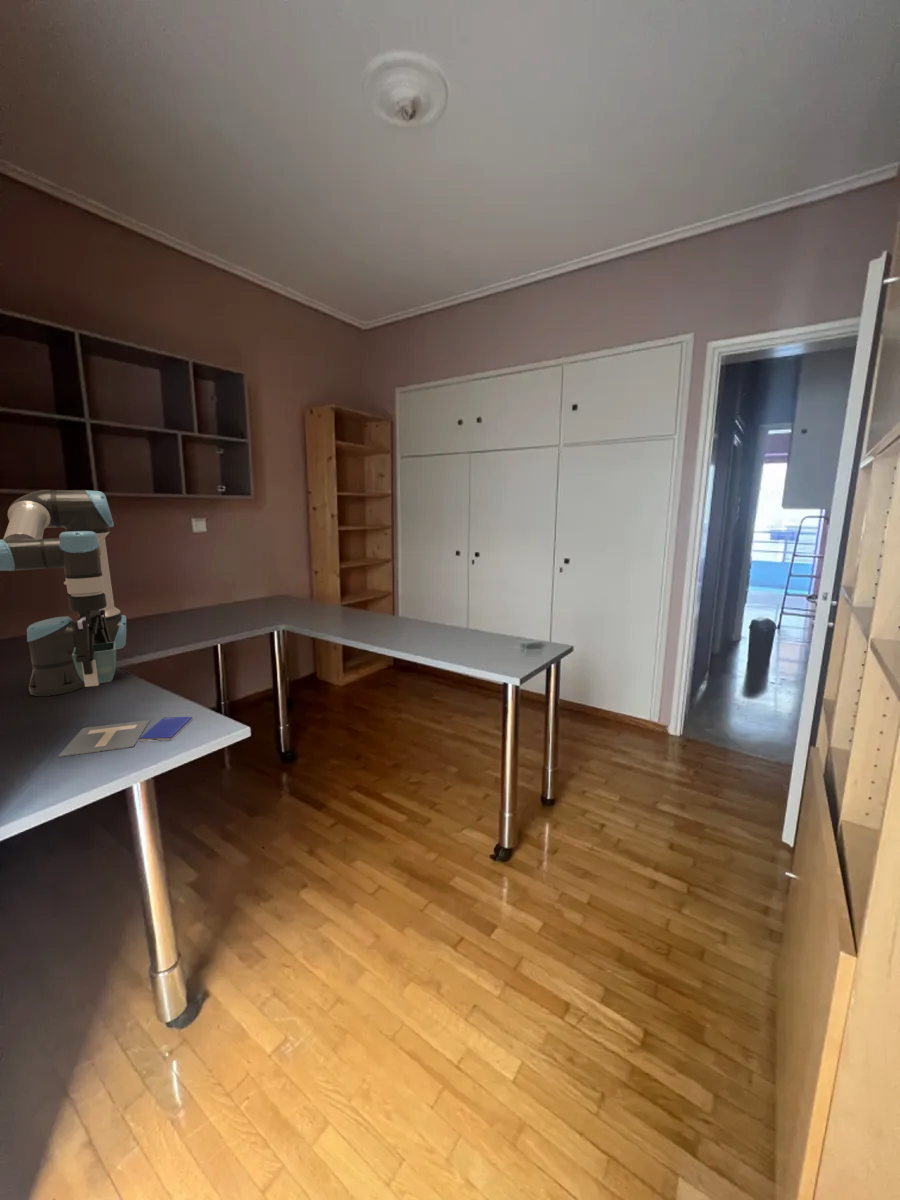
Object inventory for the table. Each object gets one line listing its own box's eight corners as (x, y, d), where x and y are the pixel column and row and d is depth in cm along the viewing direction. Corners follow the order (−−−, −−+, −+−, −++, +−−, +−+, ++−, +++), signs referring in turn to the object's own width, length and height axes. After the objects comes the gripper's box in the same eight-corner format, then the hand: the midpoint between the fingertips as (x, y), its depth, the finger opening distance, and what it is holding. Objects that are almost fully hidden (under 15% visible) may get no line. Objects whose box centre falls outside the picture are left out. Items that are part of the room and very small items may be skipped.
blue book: (162, 717, 138) (138, 738, 126) (192, 716, 139) (170, 737, 127) (163, 722, 139) (139, 743, 126) (193, 721, 139) (171, 742, 127)
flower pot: (76, 689, 120) (71, 654, 118) (79, 679, 127) (74, 646, 125) (119, 682, 125) (115, 649, 123) (119, 673, 132) (115, 641, 130)
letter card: (83, 728, 133) (82, 727, 133) (149, 720, 138) (149, 719, 138) (57, 757, 118) (57, 756, 118) (133, 747, 123) (133, 746, 123)
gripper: (85, 587, 131) (97, 667, 135) (48, 602, 110) (63, 696, 114) (118, 586, 133) (128, 664, 137) (87, 600, 112) (101, 692, 117)
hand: (99, 679), depth 126 cm, fingers closed on flower pot, 9 cm apart
